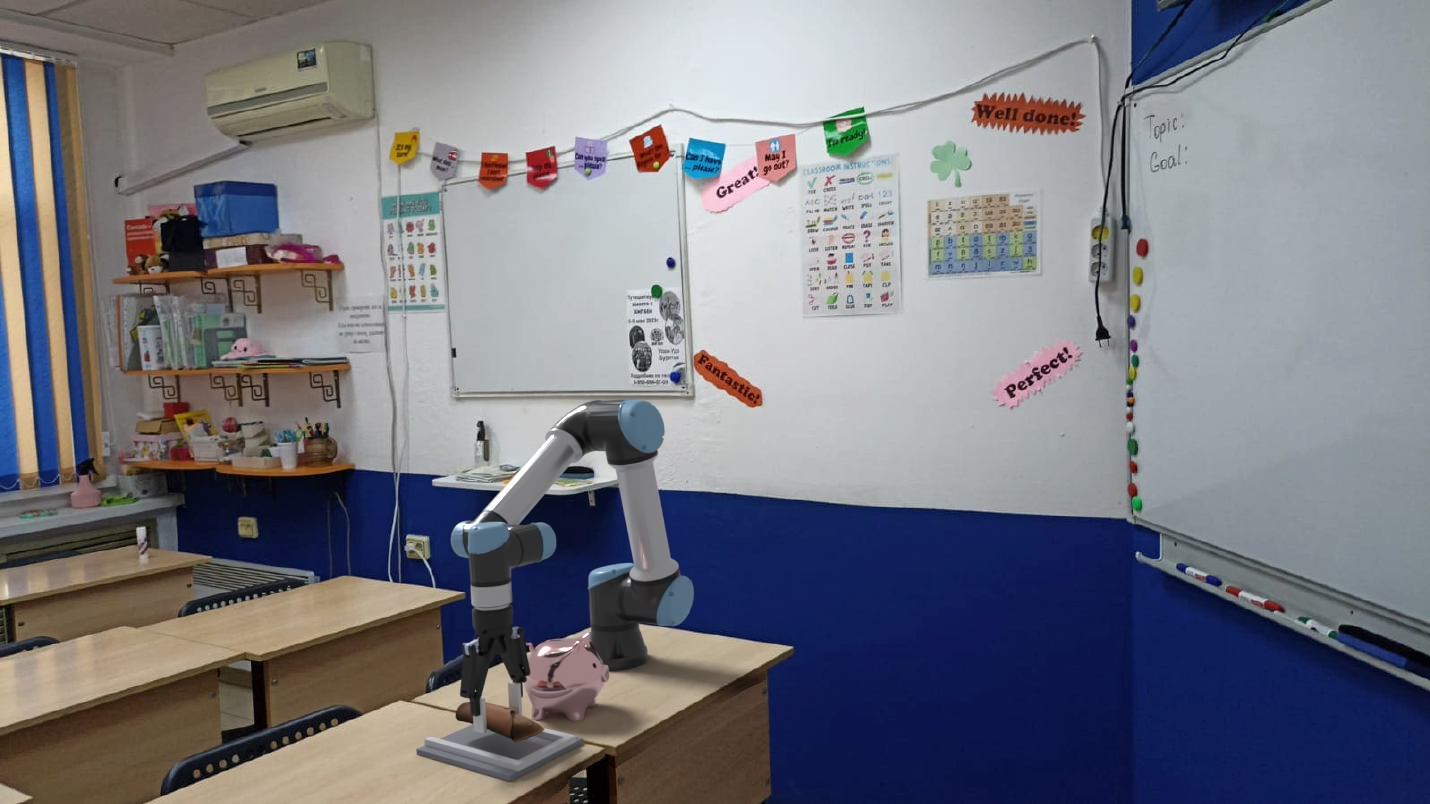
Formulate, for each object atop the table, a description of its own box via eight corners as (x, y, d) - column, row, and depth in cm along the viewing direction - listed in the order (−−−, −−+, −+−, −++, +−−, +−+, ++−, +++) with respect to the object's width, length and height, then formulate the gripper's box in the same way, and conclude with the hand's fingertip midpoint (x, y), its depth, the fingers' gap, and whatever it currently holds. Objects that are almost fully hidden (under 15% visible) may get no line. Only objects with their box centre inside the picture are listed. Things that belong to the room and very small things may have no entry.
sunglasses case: (548, 727, 183) (532, 702, 180) (523, 757, 179) (506, 731, 176) (491, 708, 195) (475, 684, 192) (466, 735, 191) (449, 711, 188)
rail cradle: (492, 720, 201) (491, 710, 201) (583, 743, 187) (582, 732, 187) (416, 754, 185) (415, 742, 185) (509, 781, 171) (509, 769, 171)
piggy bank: (597, 726, 195) (593, 647, 194) (513, 723, 199) (508, 646, 198) (620, 699, 210) (616, 626, 209) (541, 697, 214) (537, 625, 213)
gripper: (518, 591, 196) (524, 703, 196) (434, 616, 178) (441, 739, 179) (546, 594, 191) (551, 709, 192) (462, 621, 174) (469, 746, 175)
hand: (498, 723), depth 186 cm, fingers closed on sunglasses case, 8 cm apart
